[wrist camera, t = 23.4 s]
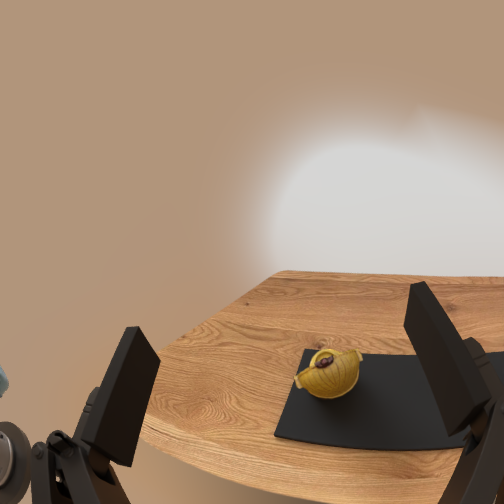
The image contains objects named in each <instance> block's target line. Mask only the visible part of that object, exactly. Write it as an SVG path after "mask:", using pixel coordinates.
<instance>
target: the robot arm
mask: <svg viewBox="0 0 504 504" xmlns="http://www.w3.org/2000/svg"><path fill="white" fill-rule="evenodd" d="M404 328H405V331H406V333H407V335H408V337H409V339H410V341H411V343H412V345H413V348H414V350H415V352H416V354H417V357H418V359H419V361H420V363H421V366H422V368H423V370H424V373H425V375H426V378H427V380H428V382H429V385H430V387H431V390H432V392H433V395H434V398H435V400H436V403H437V406H438V408H439V411H440V414H441V417H442V419H443V422H444V425H445V428H446V431H447V434H448V437H450V436H453V435H455V434H457V433H459V432H461V431H464V430H465V429H466V427H467V426H468V425H470V427H471V430H470V431H469V432H468V433H467V434H466V435H465V436H464V438H463V441H465V440H466V439H467V441H466V444H465V446H464V449H463V451H462V454H461V456H460V459H459V461H458V464H457V466H456V468H455V470H454V473H453V475H452V477H451V479H450V481H449V483H448V485H447V487H446V489H445V491H444V493H443V495H442V497H441V499H440V501H439V502H438V504H493V502H494V499H495V497H496V495H497V497H496V501H495V504H504V386H503V384H502V382H501V380H500V379H499V377H498V375H497V373H496V371H495V369H494V367H493V365H492V364H491V363H490V360H489V358H488V356H487V355H486V353H485V351H484V350H483V348H482V346H481V344H480V343H478V342H477V341H476V340H475V339H474V338H472V337H470V338H467V339H465V340H462V338H461V337H460V335H459V333H458V332H457V330H456V328H455V327H454V325H453V323H452V322H451V320H450V319H449V317H448V316H447V314H446V312H445V311H444V309H443V308H442V306H441V305H440V303H439V302H438V300H437V299H436V297H435V296H434V294H433V293H432V291H431V290H430V288H429V287H428V286H427V284H426V283H425V281H423V282H419V283H414V284H411V285H410V292H409V298H408V304H407V310H406V316H405V321H404ZM160 362H161V360H160V359H159V357H158V356H157V354H156V353H155V351H154V350H153V348H152V347H151V345H150V344H149V342H148V341H147V339H146V337H145V336H144V334H143V333H142V331H141V329H140V328H139V326H136V327H127V328H126V330H125V332H124V334H123V336H122V338H121V340H120V342H119V345H118V347H117V349H116V351H115V353H114V356H113V358H112V360H111V363H110V365H109V367H108V369H107V372H106V374H105V376H104V379H103V381H102V383H101V386H100V387H95V389H94V390H93V391H92V392H91V393H90V395H89V397H88V400H87V402H86V406H85V407H84V409H83V413H82V414H81V417H80V419H79V422H78V425H77V427H76V430H75V433H74V435H73V437H72V438H70V437H69V436H68V435H66V434H65V433H63V432H62V431H60V430H56V431H53V432H52V433H51V434H50V435H49V437H48V438H47V441H46V444H45V443H43V442H37V443H35V444H34V445H33V447H32V449H31V454H30V472H31V493H32V504H131V503H130V502H129V500H128V498H127V496H126V494H125V492H124V490H123V488H122V486H121V484H120V482H119V480H118V478H117V476H116V474H115V472H114V469H113V467H112V466H111V465H110V464H109V463H110V460H111V461H113V462H115V463H116V464H118V465H122V466H127V467H131V466H132V462H133V458H134V454H135V450H136V446H137V442H138V438H139V435H140V431H141V427H142V423H143V420H144V416H145V413H146V409H147V405H148V402H149V398H150V395H151V392H152V388H153V385H154V381H155V378H156V375H157V372H158V368H159V365H160ZM8 386H9V383H8V379H7V377H6V375H5V373H4V371H3V370H2V368H1V366H0V398H1V397H2V395H3V393H4V392H5V391H6V390H7V389H8ZM15 463H16V453H15V448H14V444H13V442H12V440H11V439H10V438H9V437H8V436H7V435H5V434H4V433H3V432H1V431H0V489H2V488H4V487H5V486H6V485H7V484H8V483H9V481H10V480H11V478H12V476H13V473H14V469H15ZM56 476H57V477H59V478H60V481H59V482H57V481H56Z"/></svg>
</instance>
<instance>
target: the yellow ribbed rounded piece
mask: <svg viewBox="0 0 504 504" xmlns="http://www.w3.org/2000/svg"><path fill="white" fill-rule="evenodd" d="M360 361H363V358H362V354H361V353H360V351H359V349H358V348H356V349H355V350H354V349H353V350H352V349H351V350H348V351H346V352H339V351H335V350H333V349H323V350H320V351H318V352H317V353H316V354H315V355H314V356H313V357H312V359H311V361H310V366H309V367H308V368H306V369H305V370H304V371H302V372H300V374H298V375H296V376H294V377H293V378H294V379H295V382H296V387H297V388H299V389H301V388H303V387H304V388H305V389H307V391H308V393H310V394H311V395H312V396H314V397H318V398H320V399H323V400H327V399H330V400H331V399H336V398H339V397H341V396H343V395H345V394H346V393H347V392H349V391H350V390H352V389H353V387H354V386H355V385H356V383H357V381H358V378H359V362H360Z"/></svg>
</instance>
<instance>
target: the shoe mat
mask: <svg viewBox="0 0 504 504" xmlns="http://www.w3.org/2000/svg"><path fill="white" fill-rule="evenodd" d="M318 351H320V350H313V349H305V350H304V353H303V356H302V359H301V362H300V365H299V368H298V371H297V374H296V375H298V374H300V372H302V371H304V370H305V369H306V368H308V367H309V366H310V361H311V359H312V357H313V356H314V355H315V354H316V353H317V352H318ZM361 354H362V358H363V361H360V362H359V378H358V381H357V383H356V385H355V386H354V387H353V389H352V390H350V391H349V392H347V393H346V394H345V395H343V396H341V397H339V398H336V399H331V400H330V399H327V400H323V399H320V398H318V397H314V396H312V395H311V394H310V393H308V391H307V389H305V388H304V387H303V388H301V389H299V388H297V387H296V382H295V379H294V382H293V385H292V388H291V391H290V393H289V396H288V399H287V402H286V404H285V407H284V410H283V412H282V415H281V417H280V420H279V422H278V425H277V428H276V430H275V433H274V436H275V437H280V438H285V439H290V440H295V441H300V442H306V443H312V444H319V445H326V446H334V447H343V448H353V449H365V450H385V451H422V450H441V449H453V448H462V447H464V446H465V444H466V441H467V439H466V440H465V441H463V438H464V436H465V435H466V434H467V433H468V432H469V431H470V430H471V427H470V425H468V426H467V427H466V429H465V430H464V431H461V432H459V433H457V434H455V435H453V436H450V437H448V434H447V431H446V428H445V425H444V422H443V419H442V417H441V414H440V411H439V408H438V406H437V403H436V400H435V398H434V395H433V392H432V390H431V387H430V385H429V382H428V380H427V378H426V375H425V373H424V370H423V368H422V366H421V363H420V361H419V359H418V357H417V355H386V354H364V353H361ZM486 355H487V356H488V358H489V360H490V363H491V364H492V365H493V367H494V369H495V371H496V373H497V375H498V377H499V379H500V380H501V382H502V384H503V386H504V351H503V352H491V353H486Z"/></svg>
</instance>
